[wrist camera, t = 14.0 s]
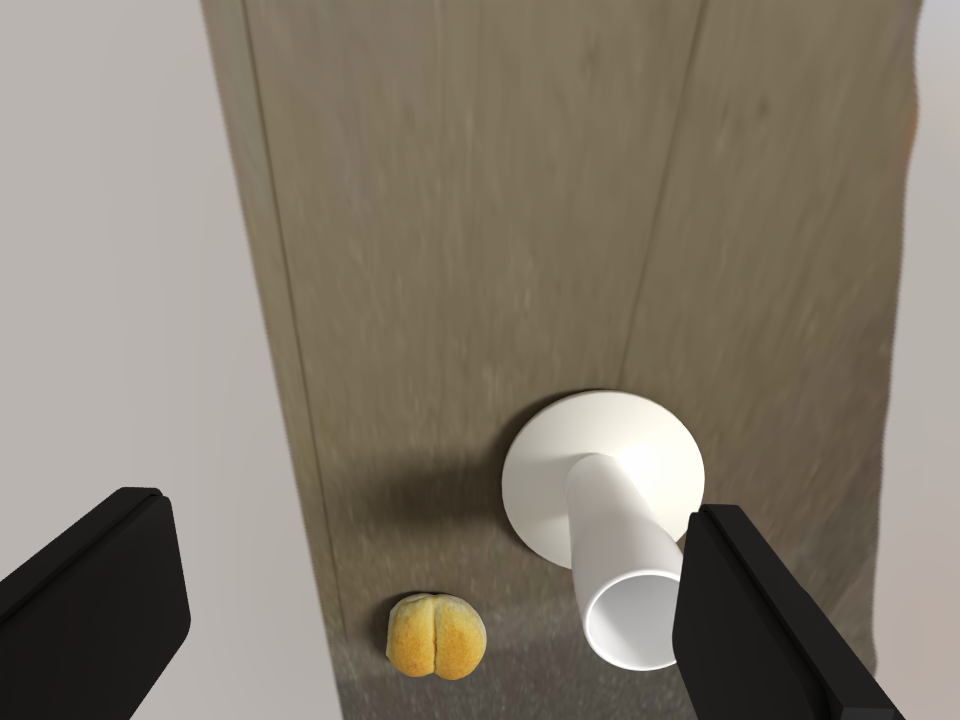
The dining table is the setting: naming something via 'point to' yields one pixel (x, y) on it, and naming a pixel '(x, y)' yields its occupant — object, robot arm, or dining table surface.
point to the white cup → (621, 566)
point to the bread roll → (435, 636)
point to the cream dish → (589, 431)
